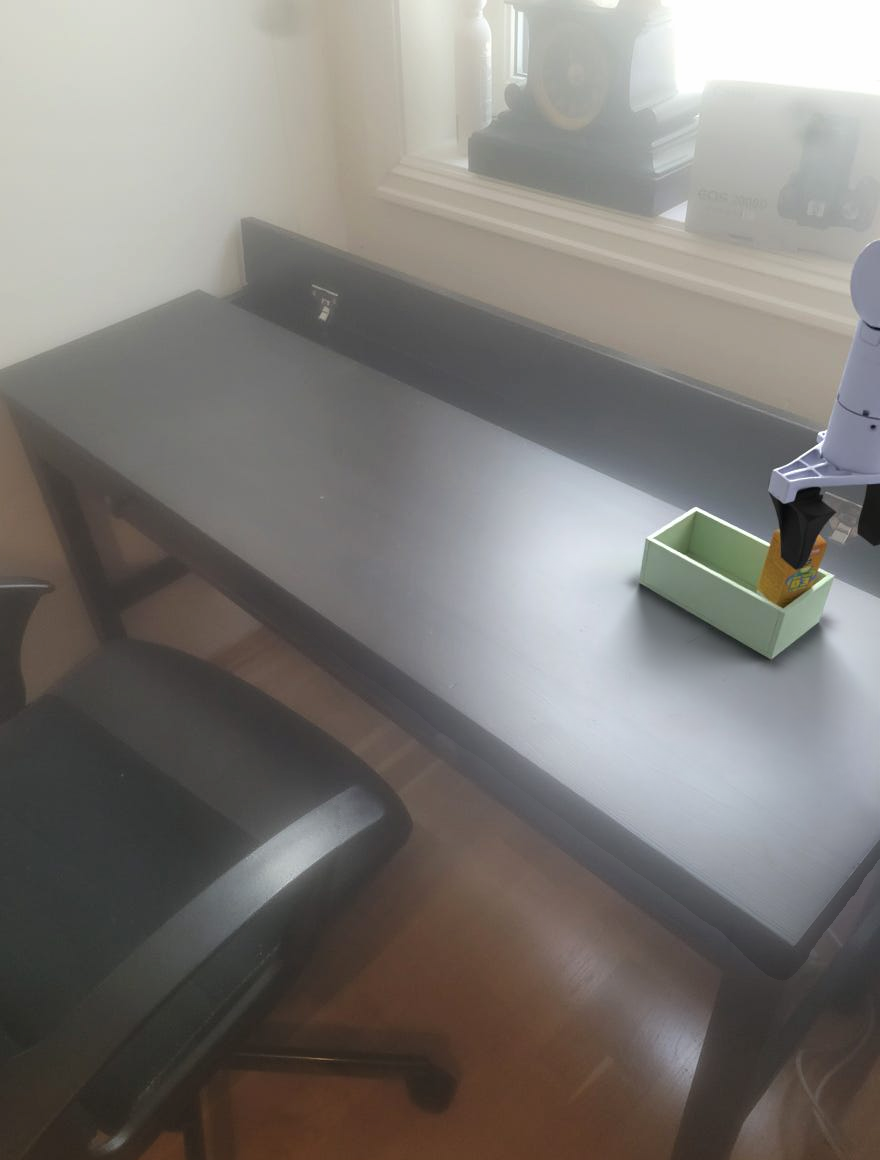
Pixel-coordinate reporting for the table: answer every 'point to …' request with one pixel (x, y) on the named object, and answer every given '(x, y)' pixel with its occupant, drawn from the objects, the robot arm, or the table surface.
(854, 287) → the robot arm
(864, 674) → the table surface
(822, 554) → the supplement box
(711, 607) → the storage bin
